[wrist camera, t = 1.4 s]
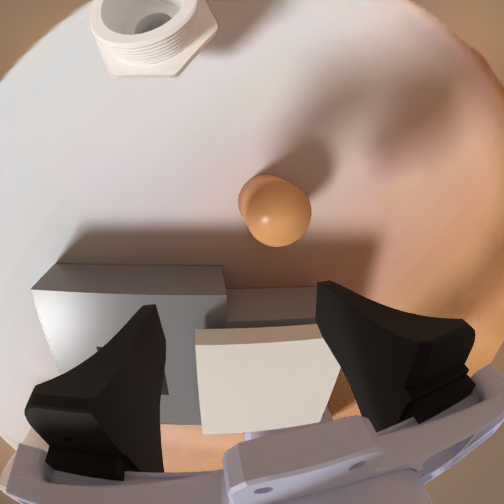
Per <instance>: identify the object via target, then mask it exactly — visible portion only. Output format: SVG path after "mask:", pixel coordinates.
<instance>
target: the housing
mask: <svg viewBox="0 0 504 504" xmlns="http://www.w3.org/2000/svg"><path fill="white" fill-rule="evenodd" d="M31 293H32V296H33V300H34V303H35V307H36V310H37V313H38V316H39V319H40V322H41V325H42V328H43V331H44V334H45V337H46V340H47V342H48V345H49V347H50V350H51V352H52V355H53V357H54V360H55V362H56V365H57V367H58V369H59V371H60V374H61V375H62V374H64V373H66V372H68V371H69V370H71V369H73V368H74V367H76V366H78V365H79V364H81V363H82V362H84V361H85V360H87V359H88V358H89V357H91V356H92V355H94V354H95V353H96V352H97V351H98V350H100V349H101V348H102V347H103V346H104V345H106V344H107V343H108V342H109V341H110V340H111V339H112V338H113V337H114V336H115V335H116V334H117V333H118V332H119V331H120V330H121V329H122V328H123V326H124V325H125V324H126V323H127V322H128V321H129V320H130V319H131V318H132V316H133V315H134V314H135V313H136V312H137V311H138V310H139V309H140V308H141V307H142V306H143V305H151V304H156V306H157V310H158V314H159V317H160V321H161V325H162V328H163V332H164V335H165V338H166V363H165V370H164V377H163V384H162V391H161V399H160V424H174V425H202V423H201V413H200V403H199V391H198V379H197V365H196V349H195V329H233V328H260V327H279V326H295V325H308V324H317V323H316V320H315V313H316V296H317V287H288V288H239V289H226V288H225V282H224V276H223V270H222V265H104V264H54V265H53V266H52V267H51V268H50V269H49V270H48V271H47V272H46V274H45V275H44V276H43V277H42V278H41V279H40V280H39V281H38V282H37V283H36V284H35V285H34V286H33V287H32V288H31Z"/></svg>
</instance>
